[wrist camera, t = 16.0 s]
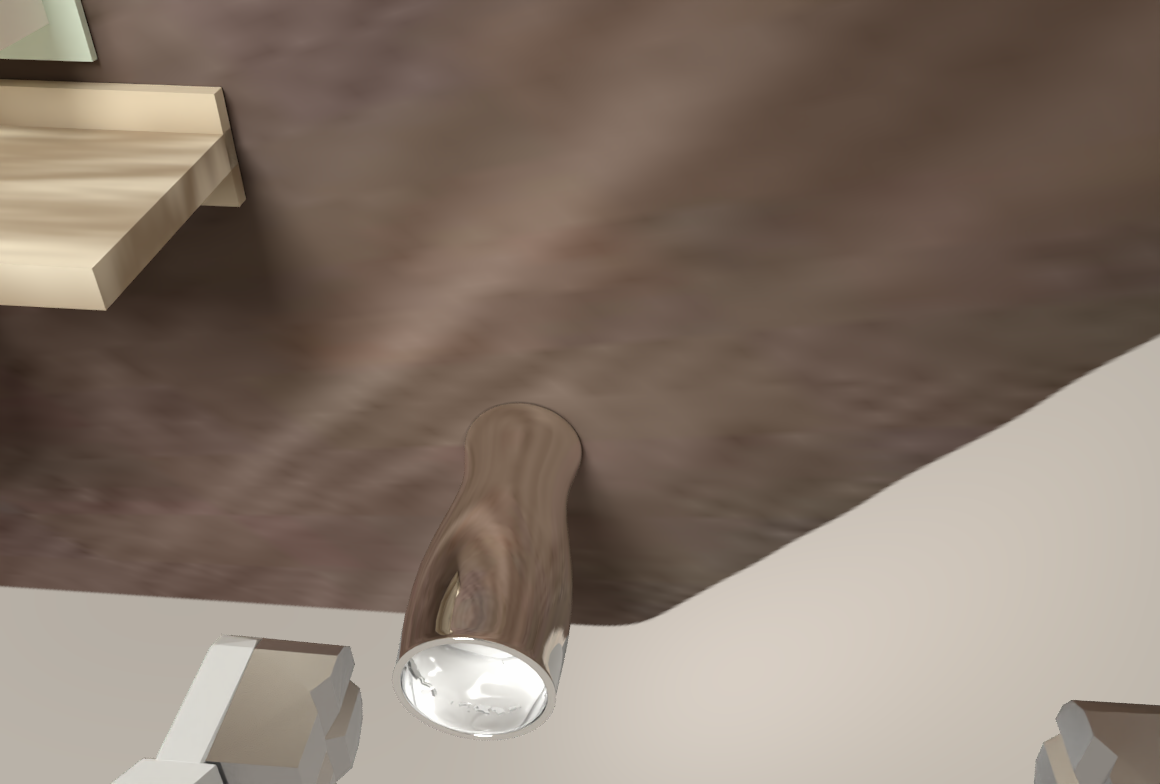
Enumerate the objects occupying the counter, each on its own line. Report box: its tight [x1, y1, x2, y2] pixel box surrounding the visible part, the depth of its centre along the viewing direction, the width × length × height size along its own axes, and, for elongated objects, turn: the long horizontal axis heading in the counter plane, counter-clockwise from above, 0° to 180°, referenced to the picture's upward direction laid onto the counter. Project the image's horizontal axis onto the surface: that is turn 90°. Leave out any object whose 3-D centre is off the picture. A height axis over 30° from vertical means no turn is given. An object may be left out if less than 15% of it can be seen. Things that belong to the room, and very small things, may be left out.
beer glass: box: [392, 403, 582, 740], centre depth 44 cm, size 7×7×15 cm
